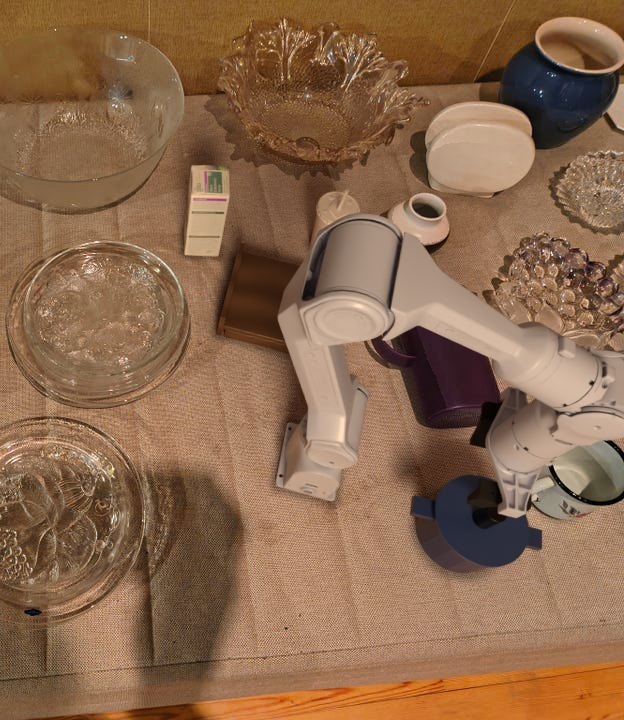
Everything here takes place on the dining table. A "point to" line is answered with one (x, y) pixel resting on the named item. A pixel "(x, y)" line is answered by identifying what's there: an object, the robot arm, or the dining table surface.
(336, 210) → the smoothie
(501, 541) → the lid
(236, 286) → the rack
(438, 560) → the pot
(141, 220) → the dining table surface
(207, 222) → the syrup box
